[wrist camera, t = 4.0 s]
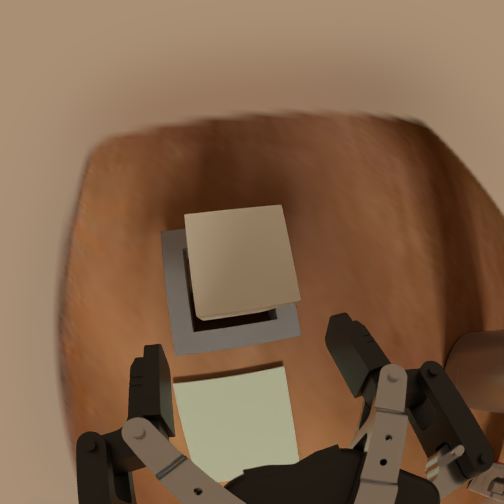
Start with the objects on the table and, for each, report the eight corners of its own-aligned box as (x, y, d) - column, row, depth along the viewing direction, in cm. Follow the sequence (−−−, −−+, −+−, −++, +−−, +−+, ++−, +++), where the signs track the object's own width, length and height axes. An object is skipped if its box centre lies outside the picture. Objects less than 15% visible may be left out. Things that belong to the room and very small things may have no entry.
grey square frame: (270, 231, 24) (278, 218, 22) (289, 334, 22) (301, 335, 19) (166, 243, 23) (160, 231, 20) (180, 351, 21) (175, 355, 18)
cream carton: (249, 259, 24) (281, 204, 13) (258, 312, 22) (300, 300, 12) (195, 266, 23) (184, 214, 12) (203, 320, 22) (196, 316, 11)
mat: (282, 365, 22) (284, 366, 21) (298, 463, 19) (299, 465, 19) (173, 382, 20) (172, 383, 20) (198, 482, 18) (198, 484, 17)
